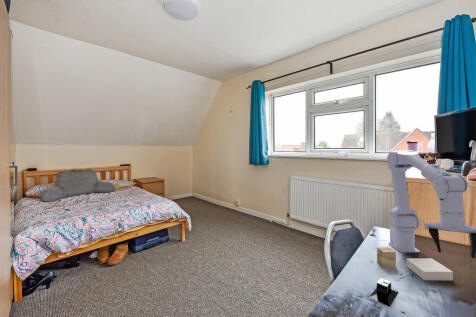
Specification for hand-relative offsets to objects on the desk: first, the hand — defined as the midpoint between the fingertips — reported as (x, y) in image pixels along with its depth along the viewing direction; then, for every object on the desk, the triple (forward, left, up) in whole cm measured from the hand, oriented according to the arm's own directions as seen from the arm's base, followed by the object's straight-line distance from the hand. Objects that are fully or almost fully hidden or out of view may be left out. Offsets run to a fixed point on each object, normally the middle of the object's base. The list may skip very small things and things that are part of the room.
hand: (455, 254), depth 70 cm
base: (-7, -3, -10) cm, 13 cm away
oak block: (-13, -14, -10) cm, 22 cm away
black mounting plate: (+5, -25, -11) cm, 28 cm away
